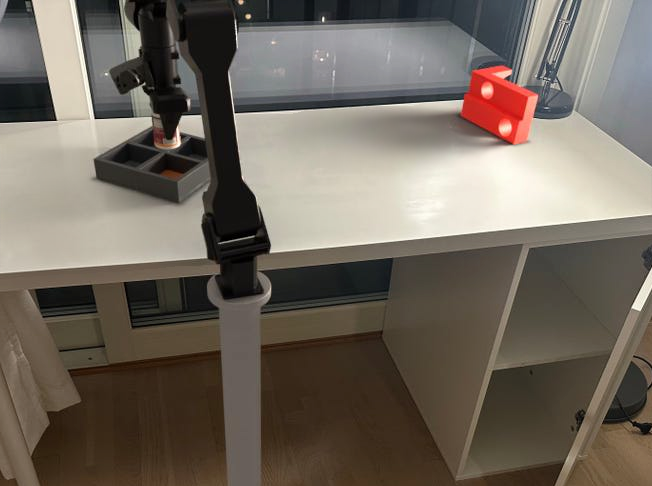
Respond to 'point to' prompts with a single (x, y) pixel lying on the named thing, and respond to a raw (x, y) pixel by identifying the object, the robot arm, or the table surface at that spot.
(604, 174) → the table surface
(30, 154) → the table surface
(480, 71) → the bracket
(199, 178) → the organiser
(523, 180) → the table surface
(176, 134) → the pill bottle
